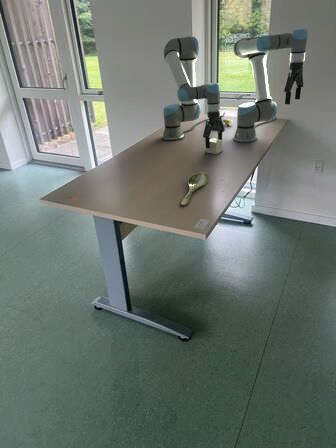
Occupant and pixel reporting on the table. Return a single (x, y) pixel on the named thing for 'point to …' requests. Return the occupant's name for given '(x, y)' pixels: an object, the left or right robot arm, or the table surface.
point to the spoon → (195, 184)
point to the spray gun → (227, 122)
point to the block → (215, 146)
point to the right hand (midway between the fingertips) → (292, 101)
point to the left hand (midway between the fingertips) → (214, 144)
